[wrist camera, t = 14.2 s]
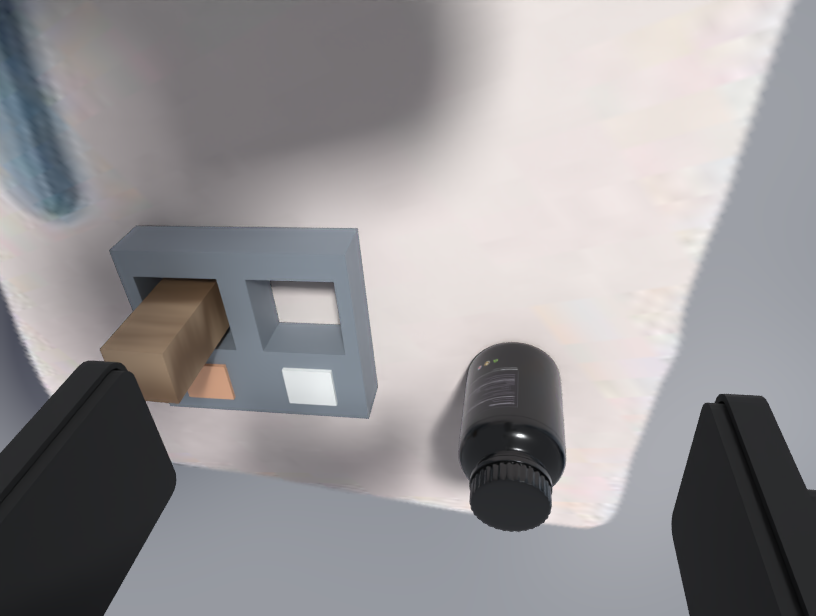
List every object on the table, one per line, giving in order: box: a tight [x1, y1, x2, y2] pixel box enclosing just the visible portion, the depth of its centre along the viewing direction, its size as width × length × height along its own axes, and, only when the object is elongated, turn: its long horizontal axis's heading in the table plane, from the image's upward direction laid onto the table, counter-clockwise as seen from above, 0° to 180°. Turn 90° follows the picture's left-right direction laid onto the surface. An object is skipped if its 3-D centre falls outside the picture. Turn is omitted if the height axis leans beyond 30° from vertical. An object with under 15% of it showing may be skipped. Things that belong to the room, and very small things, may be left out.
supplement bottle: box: [458, 342, 566, 532], centre depth 41 cm, size 7×7×12 cm
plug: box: [100, 278, 230, 404], centre depth 42 cm, size 4×4×10 cm
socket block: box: [109, 226, 378, 419], centre depth 45 cm, size 14×16×4 cm
